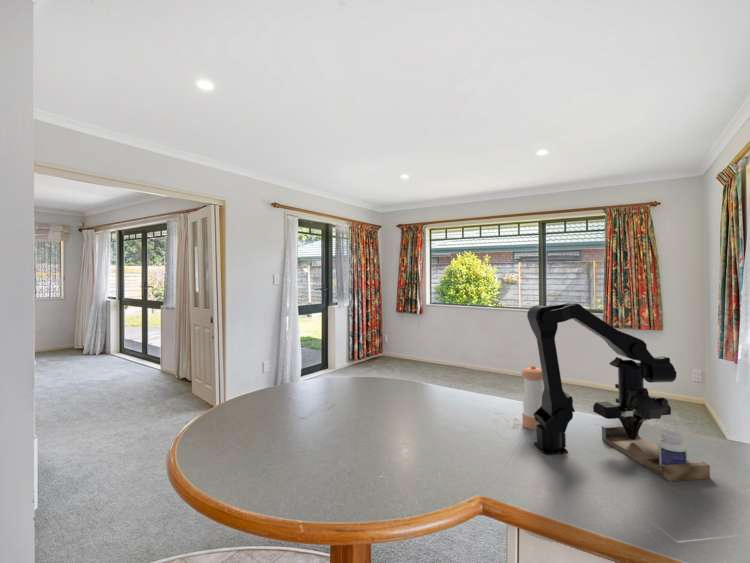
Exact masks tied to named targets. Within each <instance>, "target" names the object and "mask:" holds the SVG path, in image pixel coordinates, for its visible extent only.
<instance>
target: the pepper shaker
mask: <svg viewBox="0 0 750 563" xmlns="http://www.w3.org/2000/svg"><path fill="white" fill-rule="evenodd" d="M521 376H522V378H523V379H524V380H523V381H524V384H523V385H524V393H523V400H522V401H523V402H522V407H523V408H522V409H523V412H522V413H521V414H522V417H521V419H522V420H521V421H522V426H523V427H525V428H526V429H530V430H536V425H539V423H538V422H537V421H536V420H535V418H534V415H533V414H534V413H535V412H536V411H537V410H538V409H539V408H540V407H541V406H542V394H543V391H544V382H543V376H542V369H541V368H539V367H537V366H536V365H533V364H532V365H531V366H529V367H525V368H523V370H521Z"/></svg>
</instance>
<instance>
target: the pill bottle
mask: <svg viewBox="0 0 750 563" xmlns="http://www.w3.org/2000/svg"><path fill="white" fill-rule="evenodd" d="M661 439H662V440H659V442H658V446H659V463H658V465H659V466H660V467H662V468H664V465H673V464H685V463H687V461H688V460H687V457H688V456H687V447H686V445H685V444H683V442H684V440H683V435H682V434H681V433H678V432H675V431H672V430H671V431H669V430H663V431H662V432H661Z"/></svg>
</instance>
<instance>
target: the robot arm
mask: <svg viewBox="0 0 750 563" xmlns="http://www.w3.org/2000/svg"><path fill="white" fill-rule="evenodd" d="M526 318H527V321H528V323H529V326H530V328H531V330H532V332H533V334H534V336H535V338H536V342H537V350H538V356H539V362H540V369H542V376H543V394H542V406H541V407H540V408H539V409H538V410H537V411H536V412H535V413H534V414H533V415H534V418H535V420H536V421H537V422H538V423H539V425H536V429H535V430H536V442H533V445H534V446H535V447H536V448H538V450H540V451H541V452H542V453H543V454H544V455H555V454H567V453H569V450H568V449H567V448H566V445H567V444H566V442H567V440H566V437H567V436H566V432H567V427H568V425H569V423H570V422H571V420H573V417H574V413H575V412H576V410H575V409H574V403H573V402H574V399H573V396H571V395H570V394H568V393H567V392H565V391H564V388H563V384H562V383H563V382H562V377H561V372H560V364H559V358H558V352H557V345H556V334H557V332H558V328H559V327H558V323H564V322H567V321H570V320H573V321H574V322H577V324H579V325H581V326H583V327H584V328H586V329H587V330H589V331H590V332H592V333H593V334H594V335H596V336H598V337H599V338H601V339H602V340H604V341H605V343H606V344H607V346H608V347H609V348H611V349H612V351H614V352H615V353H616V354H617V355H619V356H621V357H624V358H627V359H622V358H620V357H618V356H616V357H615V358H614V359H613V360H612V361H609V365H610V366H611V367H615V368H617V372H618V373H617V374H618V375H617V380H618V383H615V385H614V388H616V389H617V390H618V398H615V403H617V404H613V403H611V402H609V401H595V403H594V404H593V406H592V408H593V409H592V410H593V413H595V414H597V415H599V416H601V417H603V418H604V419H607V420H613V419H614V420H617V419H619V421H620V423H621V424H622V425H623V427H624V429H625V431H626V433H627V435H628V437H629V438H630V439H631V440H635V439H636V436H637V434H638V433H639V431H640V429H641V427H642V424H643V423H644V422H646V421H648V420H655V419H656V420H660V419H661V418H662V416H670V415H672V407H671V406H670V404H669V401H668V400H667V399H666V398H665V397H657V398H656V397H651V396H650V395H649V390H648V388H646V387H644V386H645V385H644V383H645V382H644V381H646V382H647V383H653V384H654V383H673V382H675V380H676V378H677V371H676V369H675V367H674V365H673V363H672V362H671V358H670V357H668V356H665V355H664V356H658V357H654V356H653V355H652V354H651V352H650V351H649V350H648V348H647V346H648V345H647V343H646V342H645V341H643V340H642V339H641V338H639V337H635V336H634V335H631V334H628V333H626V332H623V331H620V330H619V329H616V328H615V327H613V326H612V325H610V324H609V323H607V322H606V321H604V320H603V319H601V318H599V317H598V316H597V315H595V314H593V313H592V312H590V310H587V309H586V308H584V307H583V306H582V305H581V304H580V303H575V302H566V303H563V304H557V305H556V304H555V305H548V306H544V305H540V304H537V305H533V306H532V307H530V308H529V310H527V314H526ZM636 361H638V362H636Z"/></svg>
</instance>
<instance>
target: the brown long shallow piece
mask: <svg viewBox="0 0 750 563" xmlns="http://www.w3.org/2000/svg"><path fill="white" fill-rule="evenodd" d="M639 433H640V432H638V434H637V436H636V439H635V440H631V439H630V438H629V437H628V435H627V433H626V431H625V429H624V427H623V425H622V423H621V424H608V425H602V426H601V440H602V441H603V442H605V443H606V444H608V445H610V446H612V447H613V448H615V449H616V450H618V451H620V452H621V453H623V454H624V455H626V456H628V457H629V458H631V459H632V460H634V461H636V462H637V463H639V464H641V465H642V466H644V467H645V468H647V469H649V470H650V471H652V472H654V473H656V474H657V475H659V476H661V477H662V478H663V479H665V480H667V481H668V482H678V481H679V482H680V481H689V480H690V481H691V480H700V479H701V480H703V479H710V478H711V472H710V471H711V470H710V466H711V465H710V464H709V463H708V462H707V463H706V462H705V461H699V462H690V461H688V460H687V463H685V464H673V465H664V468H662V467H660V466H659V444H656V443H654V442H652V441H651V440H648V439H646V438H645V437H643V436H641V435H639Z"/></svg>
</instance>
